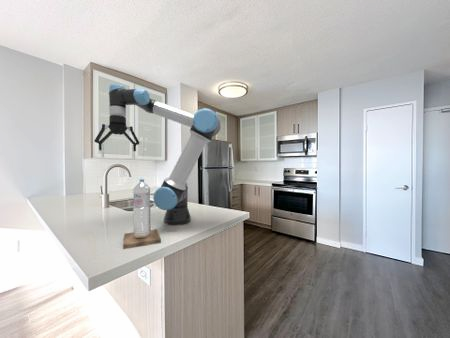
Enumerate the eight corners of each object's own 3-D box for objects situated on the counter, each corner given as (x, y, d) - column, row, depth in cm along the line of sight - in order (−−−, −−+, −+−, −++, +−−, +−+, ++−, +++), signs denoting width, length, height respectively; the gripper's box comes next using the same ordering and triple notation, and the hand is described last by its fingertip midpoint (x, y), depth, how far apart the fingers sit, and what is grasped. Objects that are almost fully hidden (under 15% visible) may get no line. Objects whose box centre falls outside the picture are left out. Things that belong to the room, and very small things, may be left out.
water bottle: (153, 235, 84) (153, 179, 84) (137, 240, 79) (137, 180, 79) (146, 232, 89) (145, 178, 88) (130, 236, 84) (130, 179, 83)
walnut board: (156, 232, 93) (156, 229, 93) (160, 242, 81) (160, 239, 81) (124, 236, 87) (124, 233, 87) (123, 248, 75) (123, 245, 75)
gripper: (143, 120, 108) (143, 157, 108) (90, 115, 97) (90, 157, 97) (144, 117, 101) (144, 157, 102) (87, 111, 90) (87, 156, 91)
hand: (118, 157), depth 99 cm, fingers open, 13 cm apart
